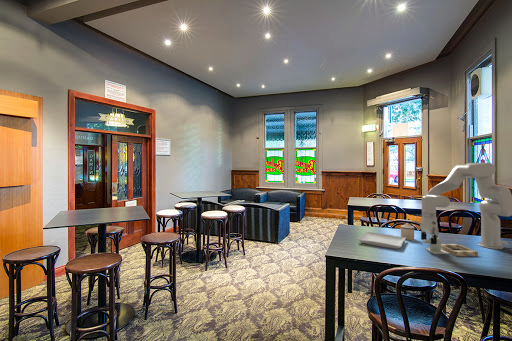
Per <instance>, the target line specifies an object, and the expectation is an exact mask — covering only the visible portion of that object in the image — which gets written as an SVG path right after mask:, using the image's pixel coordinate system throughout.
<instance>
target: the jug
mask: <svg viewBox="0 0 512 341" xmlns="http://www.w3.org/2000/svg"><path fill="white" fill-rule="evenodd" d="M431 238H432V237H431V236H429V239H426V240H422V242H423V243H424V244H429V246H428V248H429V250H430V251H434V252H441V244H442V238H441V237H439V236H438V237H437V244H431ZM430 251H429V252H430Z"/></svg>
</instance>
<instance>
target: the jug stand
mask: <svg viewBox="0 0 512 341" xmlns="http://www.w3.org/2000/svg"><path fill="white" fill-rule="evenodd" d="M441 249H442V250H444V251H446V252H448V253H449V254H448V255H452V256H454V257H479V252H478V251H477V250H474V249H472V248H469V247H467V246H465V245H461V244H458V243H441Z"/></svg>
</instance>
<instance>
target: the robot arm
mask: <svg viewBox="0 0 512 341" xmlns="http://www.w3.org/2000/svg"><path fill="white" fill-rule="evenodd" d="M495 173H496V166H495V165H494V164H493V163H490V162H468V163H464V164H457V165H455V166H454V167H453V168H452V169H451V171H450V173H449V174H448V175H447V177H446V178H445V179H444V180H442V181H441V182H440V183H438V184H436V185H435V186H433V187H431V188H430V190H428V192H427V194H426V195H423V196H422V197H421V221H420V225H419V230H420V240H422V241H423V240H428V239H427V236H428V234H429V235H430V237H432V238H431V244H437V237H438V238H439V234H440V232H439V226H438V225H439V224H438V220H437V208H440V209H441V208H448V207H449V206H450V205H451V200H450V198H449V197H447V196H445V195H442V194H443V193H446V192H451V191H454V190H457V189H459V188H460V187H461V185H462V184H463V182H464V181H465V179H467V178H470V179H471V178H472V179H475V182H476V187H477V189H478V190H477V191H478V194H479V196H480V197H481V198H482V199H484V200H482V201H480V203H479V212H480V217H481V219H480V220H481V221H480V223H481V224H480V225H481V226H480V229H481V230H480V231H481V232H480V242H478V243H477V244H478V246H480V247H482V248H487V249H492V250H503V249H504V246H503V245H508V244H509V243H508V242H507V241H505V240H504V241H503V240H501V219H500V217H511V216H512V191H511V190H510V189H509V188H508V186H504V185H498V184H497V185H496V184H495V182H494V178H493V177H492V176H493V175H494V174H495ZM499 216H500V217H499Z"/></svg>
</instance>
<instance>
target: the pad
mask: <svg viewBox="0 0 512 341" xmlns="http://www.w3.org/2000/svg"><path fill="white" fill-rule="evenodd" d="M425 250H426V251H428V252H430V253H432V254H434V255H450V254H449V253H448V252H446V251H444V250H442V249H441V252H434V251H430V250H429V247H428V248H426V247H425Z"/></svg>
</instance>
